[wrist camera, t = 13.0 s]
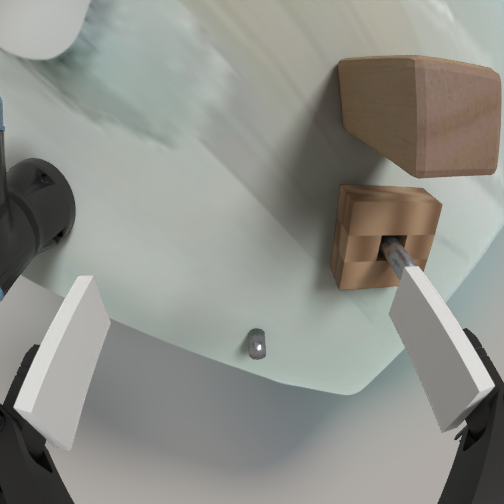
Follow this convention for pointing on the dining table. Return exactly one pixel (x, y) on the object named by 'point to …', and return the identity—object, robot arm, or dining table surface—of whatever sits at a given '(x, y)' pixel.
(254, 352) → the short pin
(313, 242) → the dining table surface
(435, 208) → the socket block
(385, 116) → the wooden block
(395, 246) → the long pin
